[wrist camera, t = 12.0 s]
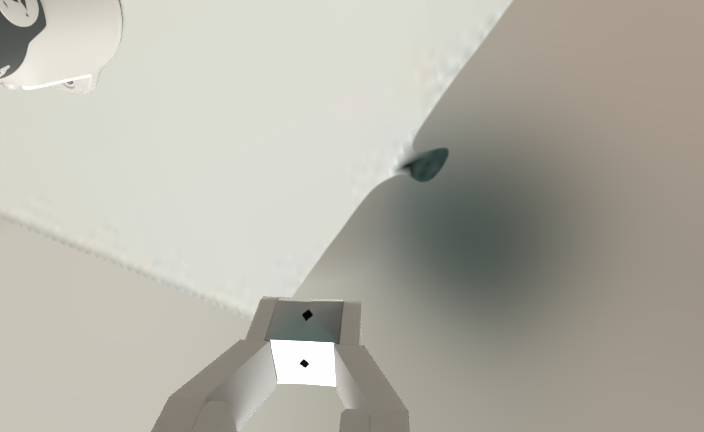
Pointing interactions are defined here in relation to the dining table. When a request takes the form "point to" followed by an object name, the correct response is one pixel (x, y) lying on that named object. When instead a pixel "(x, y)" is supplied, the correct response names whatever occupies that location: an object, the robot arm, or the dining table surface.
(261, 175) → the dining table surface
